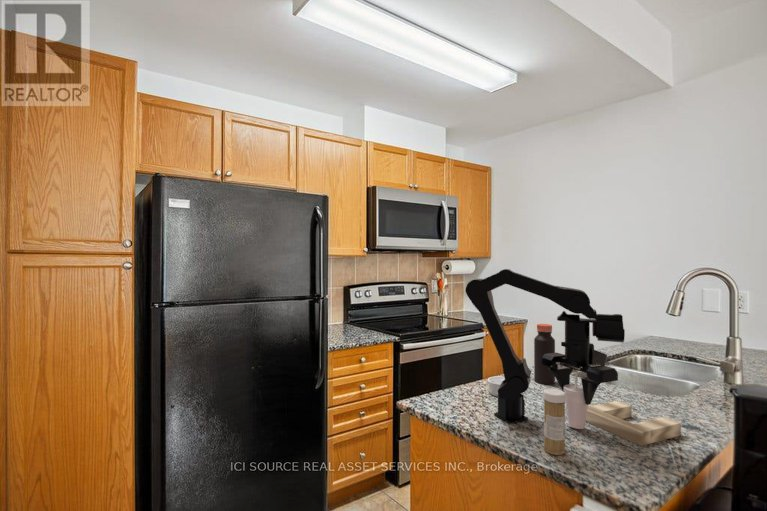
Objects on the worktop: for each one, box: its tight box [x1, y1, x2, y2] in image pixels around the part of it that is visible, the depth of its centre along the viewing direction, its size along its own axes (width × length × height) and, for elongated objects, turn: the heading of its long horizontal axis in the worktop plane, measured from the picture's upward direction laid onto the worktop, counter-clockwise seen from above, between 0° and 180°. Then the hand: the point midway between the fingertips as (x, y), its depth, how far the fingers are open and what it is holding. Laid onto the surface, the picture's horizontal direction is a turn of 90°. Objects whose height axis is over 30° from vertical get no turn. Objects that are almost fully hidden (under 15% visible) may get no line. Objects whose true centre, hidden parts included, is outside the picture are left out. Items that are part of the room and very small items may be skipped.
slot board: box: [585, 400, 682, 447], centre depth 103 cm, size 14×17×3 cm
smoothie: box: [563, 370, 589, 430], centre depth 103 cm, size 6×6×14 cm
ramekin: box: [487, 376, 505, 398], centre depth 129 cm, size 9×9×4 cm
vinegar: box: [533, 323, 556, 385], centre depth 142 cm, size 7×7×20 cm
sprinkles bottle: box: [543, 388, 566, 456], centre depth 90 cm, size 5×5×13 cm
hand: (577, 400), depth 103 cm, fingers closed on smoothie, 6 cm apart
